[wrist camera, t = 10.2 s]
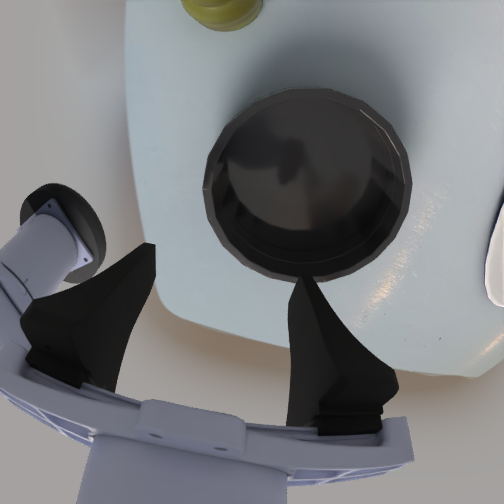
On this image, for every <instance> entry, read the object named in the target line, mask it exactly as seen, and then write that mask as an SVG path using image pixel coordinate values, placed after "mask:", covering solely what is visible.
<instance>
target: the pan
mask: <svg viewBox="0 0 504 504" xmlns="http://www.w3.org/2000/svg"><path fill="white" fill-rule="evenodd" d="M202 188H203V190H202V191H203V196H204V202H205V208H206V213H207V218H208V221H209V223H210V225H211V226H212V228H213V230H214V232H215V234H216V235H217V237H218V239H219V241H220V243H221V244H222V246H223V247H224V248H225V249H226V250H228V251H229V252H230V253H231V254H232V255H233V256H234V257H235V258H236V259H237V260H238V261H239V262H240V263H241V264H243V265H244V266H246V267H248V268H250V269H252V270H254V271H256V272H258V273H260V274H262V275H264V276H266V277H269V278H272V279H277V280H282V281H287V282H291V283H296V282H297V280H298V277H299V275H300V273H302V274H307V275H312V277H313V278H314V280H315V282H316V283H318V282H327V281H330V280H334V279H337V278H340V277H343V276H347V275H350V274H351V273H354V272H356V271H357V270H359V269H360V268H362V267H364V266H365V265H367V264H369V263H370V262H372V261H373V260H375V259H376V258H377V257H378V256H379V255H380V254H381V253H382V252H383V251H384V250H385V249H386V248H387V246H388V245H389V244H390V243H391V242H392V241H393V240H394V239H395V237H396V235H397V233H398V232H399V230H400V228H401V226H402V224H403V222H404V220H405V217H406V215H407V213H408V209H409V204H410V197H411V191H412V177H411V171H410V166H409V160H408V155H407V152H406V150H405V148H404V146H403V145H402V143H401V141H400V139H399V137H398V136H397V134H396V132H395V131H394V129H393V127H392V125H390V123H389V122H388V121H386V120H385V119H384V118H383V117H382V116H381V115H380V114H378V113H377V112H376V111H375V110H374V109H372V108H371V107H370V106H369V105H368V104H366V103H365V102H363V101H361V100H359V99H356V98H353V97H351V96H348V95H345V94H343V93H340V92H337V91H334V90H331V89H326V88H318V87H297V88H285V89H282V90H279V91H276V92H273V93H270V94H268V95H265V96H262V97H260V98H257V99H256V100H254V101H253V102H252V103H251V104H249V105H248V106H247V107H246V108H245V109H243V110H242V111H241V112H240V113H239V114H237V115H236V116H235V117H234V118H233V119H232V120H231V121H230V122H229V123H228V124H227V125H226V126H225V127H224V129H223V131H222V132H221V134H220V136H219V138H218V139H217V141H216V143H215V145H214V146H213V148H212V150H211V152H210V153H209V155H208V158H207V163H206V169H205V175H204V181H203V187H202Z"/></svg>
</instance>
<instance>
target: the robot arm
mask: <svg viewBox="0 0 504 504" xmlns="http://www.w3.org/2000/svg"><path fill="white" fill-rule="evenodd" d="M86 258H87V259H86ZM93 259H94V257H93V255H92V253H91V252H90V251H89V249H88V248H87V246H86V245H85V244H84V242H83V241H82V239H81V238H80V236H79V235H78V233H77V232H76V230H75V229H74V228H73V226H72V224H71V223H70V221H69V220H68V218H67V217H66V215H65V214H64V212H63V210H62V209H61V207H60V206H59V204H58V202H57V201H56V199H54V198H51V199H50V200H49V201H48V202H47V203H45V204H44V205H43V206H42V207H41V208H40V209H39V210H38V211H36V212H35V213H34V214H33V215H32V216H31V217H30V218H29V219H28V220H27V221H26V222H25V223H24V224H23V225H22V226H21V227H19V229H18V230H17V234H16V235H15V236H14V237H13V238H12V239H11V240H10V241H9V242H8V243H7V244H6V245H5V246H4V247H3V248H2V249H1V250H0V394H2V395H3V396H4V397H5V398H6V399H7V400H8V401H9V402H10V403H12V404H13V405H15V406H16V407H18V408H19V409H21V410H22V411H24V412H25V413H27V414H29V415H30V416H32V417H34V418H35V419H37V420H39V421H40V422H42V423H44V424H45V425H47V426H49V427H51V428H52V429H54V430H56V431H58V432H60V433H61V434H63V435H65V436H67V437H69V438H71V439H73V440H75V441H77V442H79V443H81V444H83V445H85V446H88V447H90V448H91V449H90V453H89V456H88V460H87V463H86V467H85V471H84V474H83V478H82V482H81V486H80V490H79V494H78V498H77V503H76V504H287V487H288V486H306V485H318V484H327V483H335V482H342V481H350V480H356V479H361V478H367V477H374V476H379V475H384V474H386V473H388V472H391V471H394V470H396V469H398V468H400V467H403V466H405V465H407V464H409V463H411V462H413V461H414V455H413V449H412V443H411V438H410V433H409V428H408V423H407V418H406V417H405V416H404V417H394V418H387V419H384V420H381V416H380V415H381V414H383V407H382V406H383V405H384V404H385V403H387V402H388V401H389V400H390V399H391V398H393V397H394V395H395V394H396V393H397V391H398V390H399V385H398V381H397V377H396V374H395V371H394V369H392V368H391V367H390V366H388V365H387V364H385V363H384V362H382V361H381V360H380V359H378V358H377V357H376V356H375V355H373V354H372V353H371V352H370V351H369V350H368V349H367V348H365V347H364V346H363V345H362V344H361V343H360V342H359V341H358V340H357V339H356V338H355V337H354V336H353V335H352V333H351V332H350V331H349V330H348V329H347V328H346V326H345V325H344V324H343V323H342V321H341V320H340V319H339V317H338V316H337V315H336V313H335V312H334V311H333V309H332V308H331V306H330V305H329V303H328V301H327V300H326V298H325V297H324V295H323V293H322V292H321V290H320V288H319V287H318V285H317V283H316V282H315V280H314V278H313V277H312V275H307V274H302V273H300V275H299V277H298V280H297V282H296V285H295V287H294V290H293V292H292V295H291V297H290V300H289V302H288V330H289V342H290V353H291V377H290V393H289V403H288V414H287V421H286V426H275V425H262V424H253V423H245V422H244V420H242V419H240V418H238V417H236V416H233V415H230V414H226V413H220V412H214V411H208V410H203V409H198V408H193V407H188V406H183V405H179V404H175V403H170V402H166V401H161V400H154V399H151V400H145V401H143V402H141V401H138V400H135V399H131V398H128V397H125V396H121V395H119V394H115V389H116V384H117V379H118V375H119V371H120V367H121V363H122V360H123V356H124V353H125V349H126V346H127V343H128V340H129V337H130V334H131V332H132V329H133V327H134V325H135V323H136V320H137V318H138V316H139V314H140V312H141V310H142V308H143V306H144V304H145V302H146V300H147V298H148V296H149V294H150V291H151V289H152V286H153V283H154V280H155V277H156V250H155V244H150V243H145V242H144V243H143V244H141V245H140V246H138V247H137V248H136V249H134V250H133V251H132V252H130V253H129V254H128V255H126V256H125V257H123V258H122V259H121V260H119V261H118V262H116V263H115V264H113V265H112V266H110V267H109V268H108V269H106V270H104V271H103V272H101V273H100V274H98V275H96V276H94V277H92V278H91V279H89V280H87V281H85V282H83V283H80V284H78V285H76V286H74V287H72V288H69V289H67V290H64V291H61V292H58V293H55V294H54V292H55V291H56V289H57V288H58V287H59V285H60V284H61V283H62V281H63V280H64V279H65V277H66V276H67V275H68V273H69V272H71V271H73V270H75V269H77V268H80V267H82V266H84V265H86V264H88V263H90V262H92V261H93Z"/></svg>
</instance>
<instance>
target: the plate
mask: <svg viewBox="0 0 504 504" xmlns="http://www.w3.org/2000/svg"><path fill="white" fill-rule="evenodd" d="M484 284H485V288H486V291H487V295H488V297H489V299H490V300H491V301H492V302H493V303H494V304H495V305H497V306H501V307H504V201H503V203H502V205H501V207H500V210H499V214H498V217H497V220H496V223H495V225H494V228H493V231H492V234H491V237H490V241H489V246H488V251H487V255H486V260H485V274H484Z"/></svg>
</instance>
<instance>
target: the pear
mask: <svg viewBox="0 0 504 504" xmlns="http://www.w3.org/2000/svg"><path fill="white" fill-rule="evenodd" d="M181 1H182V5H183V7H184V9H185V10H186V12H187V13H188V14H189V15H190V16H191V17H193V18H194V19H195V20H197V21H198V22H199V23H201V24H202V25H203V26H205V27H207V28H209V29H212V30H215V31H222V32H224V31H234V30H238V29H241V28H243V27H245V26H247V25H249V24H250V23H251V22H252V21H253V20H255V18H256V17H257V16H258V14H259V13H260V11H261V8H262V0H181Z"/></svg>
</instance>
